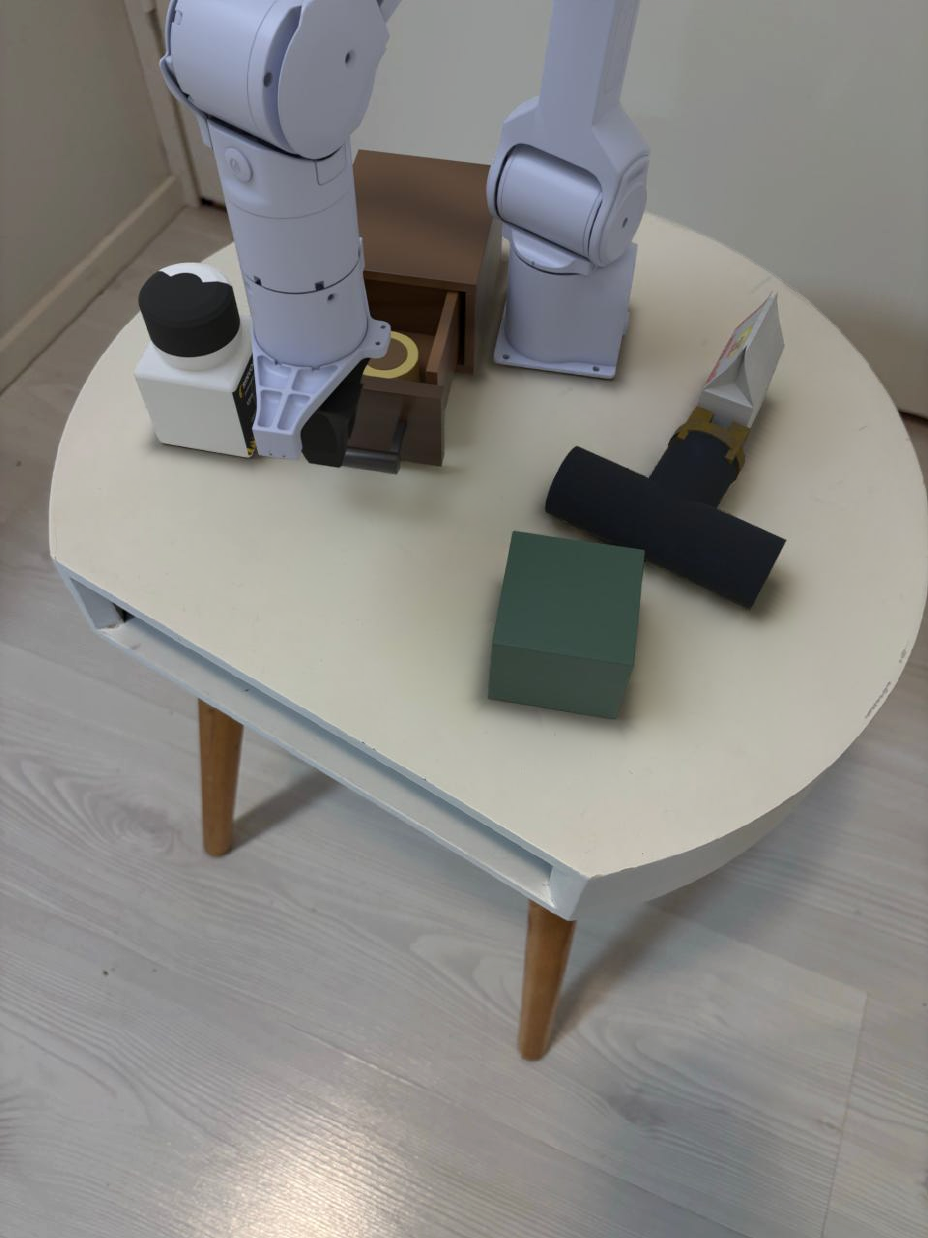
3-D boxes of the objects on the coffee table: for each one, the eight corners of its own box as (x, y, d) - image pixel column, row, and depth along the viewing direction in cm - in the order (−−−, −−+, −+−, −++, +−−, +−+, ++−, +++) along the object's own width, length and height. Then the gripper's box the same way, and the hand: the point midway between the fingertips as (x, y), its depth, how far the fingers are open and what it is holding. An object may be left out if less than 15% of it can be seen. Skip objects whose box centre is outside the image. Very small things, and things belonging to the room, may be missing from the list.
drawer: (430, 512, 66) (428, 446, 61) (283, 490, 67) (268, 423, 61) (471, 344, 75) (473, 272, 69) (340, 326, 76) (331, 253, 70)
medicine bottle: (251, 460, 70) (218, 332, 59) (158, 444, 70) (108, 315, 60) (281, 389, 73) (254, 257, 63) (191, 374, 74) (150, 241, 64)
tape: (425, 365, 72) (424, 334, 69) (412, 412, 70) (411, 381, 67) (362, 357, 72) (359, 325, 70) (347, 403, 70) (343, 372, 67)
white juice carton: (761, 405, 73) (802, 299, 65) (731, 466, 70) (770, 363, 61) (715, 388, 74) (750, 282, 65) (684, 447, 71) (716, 344, 62)
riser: (626, 610, 64) (645, 549, 58) (615, 719, 59) (633, 665, 53) (506, 592, 64) (512, 529, 58) (487, 698, 60) (491, 643, 54)
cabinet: (473, 375, 74) (476, 284, 67) (327, 354, 75) (314, 263, 68) (501, 259, 81) (506, 166, 74) (366, 242, 82) (358, 148, 75)
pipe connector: (626, 368, 68) (831, 454, 64) (615, 420, 72) (806, 503, 68) (548, 480, 63) (764, 581, 59) (542, 528, 67) (743, 624, 63)
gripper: (346, 374, 41) (369, 556, 53) (414, 169, 49) (421, 368, 60) (187, 352, 42) (244, 537, 53) (278, 152, 49) (311, 353, 61)
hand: (330, 446), depth 57 cm, fingers closed
